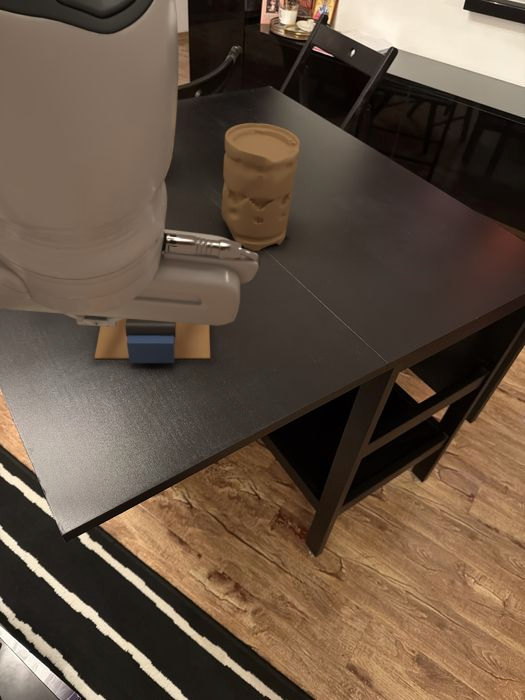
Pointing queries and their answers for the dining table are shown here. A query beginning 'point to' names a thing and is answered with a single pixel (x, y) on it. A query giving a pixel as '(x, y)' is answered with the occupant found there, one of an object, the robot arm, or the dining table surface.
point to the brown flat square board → (188, 341)
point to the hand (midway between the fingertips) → (98, 317)
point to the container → (258, 183)
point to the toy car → (150, 341)
